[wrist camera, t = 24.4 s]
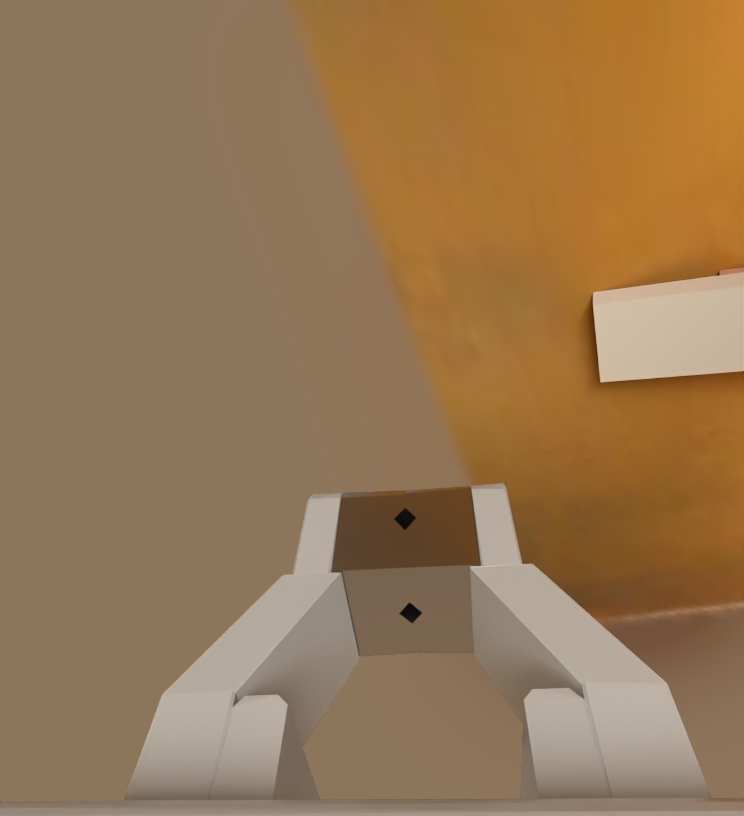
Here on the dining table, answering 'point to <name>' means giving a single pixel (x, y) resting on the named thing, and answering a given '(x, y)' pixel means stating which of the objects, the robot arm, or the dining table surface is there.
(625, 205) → the dining table surface
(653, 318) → the domino end
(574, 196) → the dining table surface
